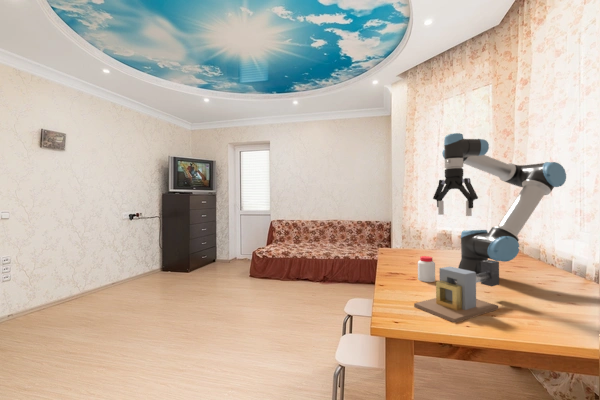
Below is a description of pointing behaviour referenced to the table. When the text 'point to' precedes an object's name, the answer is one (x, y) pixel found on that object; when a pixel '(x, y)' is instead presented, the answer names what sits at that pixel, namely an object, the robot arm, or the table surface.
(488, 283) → the shaft
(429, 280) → the pill bottle
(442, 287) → the frame
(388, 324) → the table surface
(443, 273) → the bearing block
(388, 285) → the table surface
